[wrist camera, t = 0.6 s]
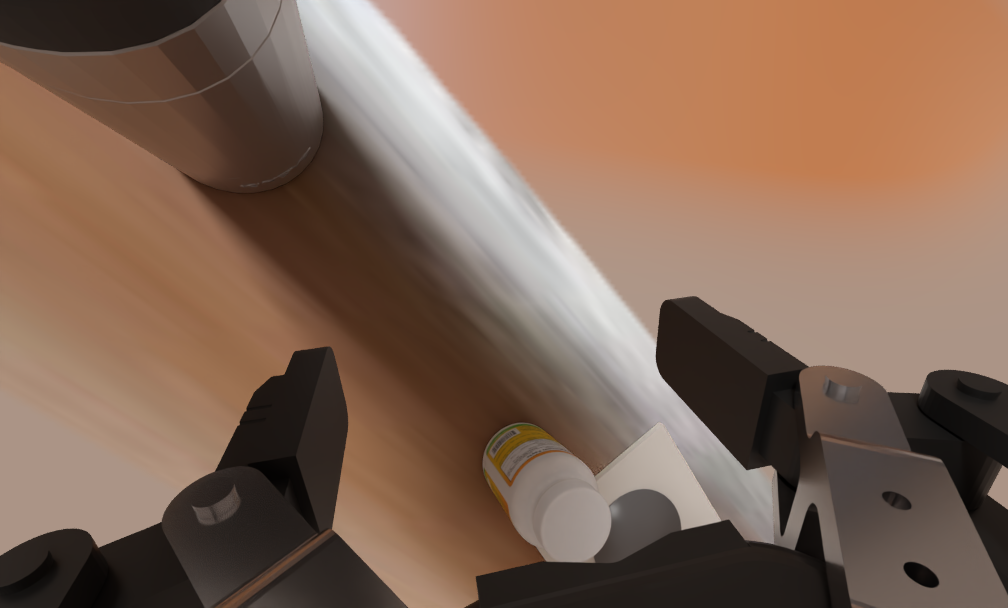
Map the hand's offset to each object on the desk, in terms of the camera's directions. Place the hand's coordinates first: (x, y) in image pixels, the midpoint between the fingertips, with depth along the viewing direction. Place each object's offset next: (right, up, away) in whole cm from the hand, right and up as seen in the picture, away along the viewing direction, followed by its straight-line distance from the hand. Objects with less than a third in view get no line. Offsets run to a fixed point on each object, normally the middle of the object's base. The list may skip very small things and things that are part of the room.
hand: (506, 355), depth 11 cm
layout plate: (+10, -17, +25) cm, 31 cm away
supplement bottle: (+1, -10, +22) cm, 24 cm away
